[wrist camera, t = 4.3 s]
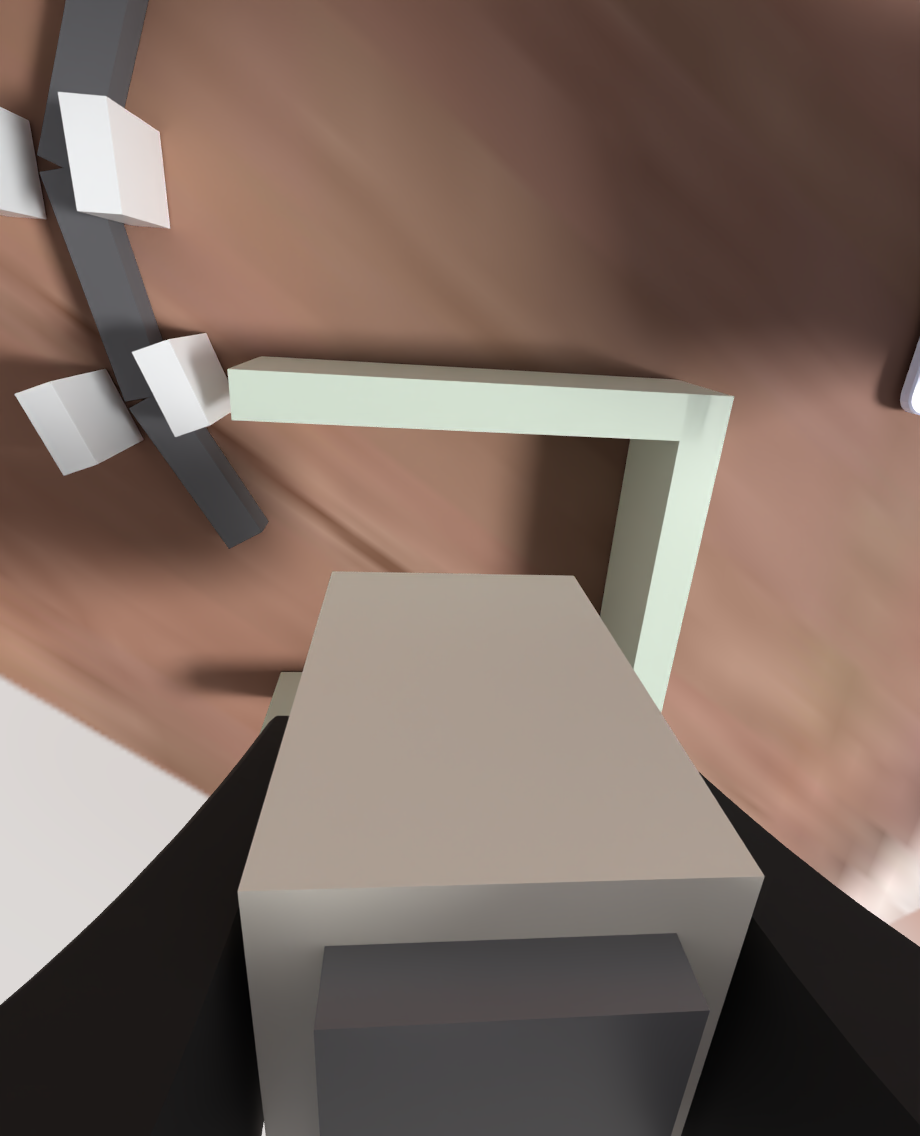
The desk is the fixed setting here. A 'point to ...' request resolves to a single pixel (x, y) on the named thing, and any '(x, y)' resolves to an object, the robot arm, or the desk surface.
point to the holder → (546, 407)
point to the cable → (127, 259)
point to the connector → (484, 875)
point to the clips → (131, 196)
